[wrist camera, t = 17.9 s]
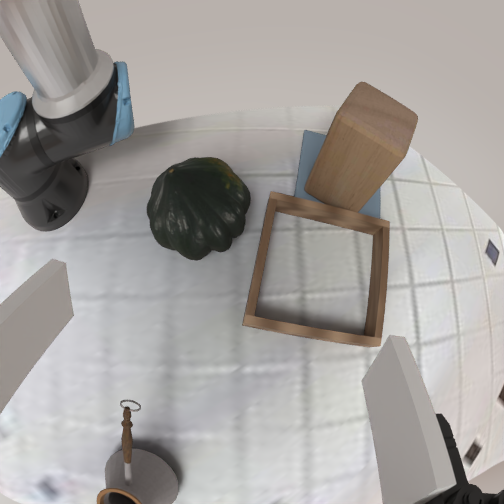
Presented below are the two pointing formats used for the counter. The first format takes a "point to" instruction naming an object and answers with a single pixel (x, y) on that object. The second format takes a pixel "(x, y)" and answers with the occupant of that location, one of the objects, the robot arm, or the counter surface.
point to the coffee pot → (137, 473)
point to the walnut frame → (377, 278)
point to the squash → (198, 207)
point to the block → (361, 148)
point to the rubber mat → (307, 160)
